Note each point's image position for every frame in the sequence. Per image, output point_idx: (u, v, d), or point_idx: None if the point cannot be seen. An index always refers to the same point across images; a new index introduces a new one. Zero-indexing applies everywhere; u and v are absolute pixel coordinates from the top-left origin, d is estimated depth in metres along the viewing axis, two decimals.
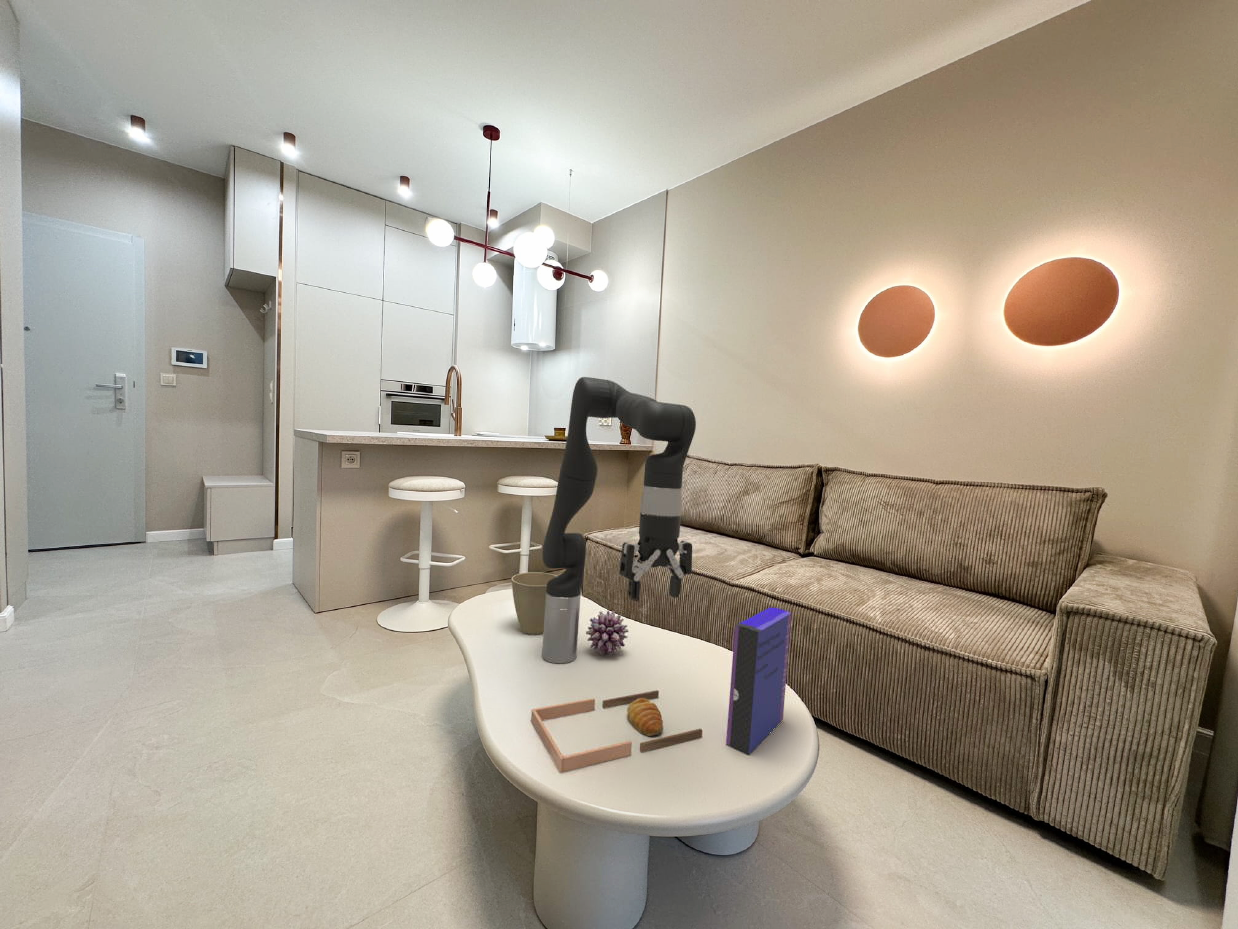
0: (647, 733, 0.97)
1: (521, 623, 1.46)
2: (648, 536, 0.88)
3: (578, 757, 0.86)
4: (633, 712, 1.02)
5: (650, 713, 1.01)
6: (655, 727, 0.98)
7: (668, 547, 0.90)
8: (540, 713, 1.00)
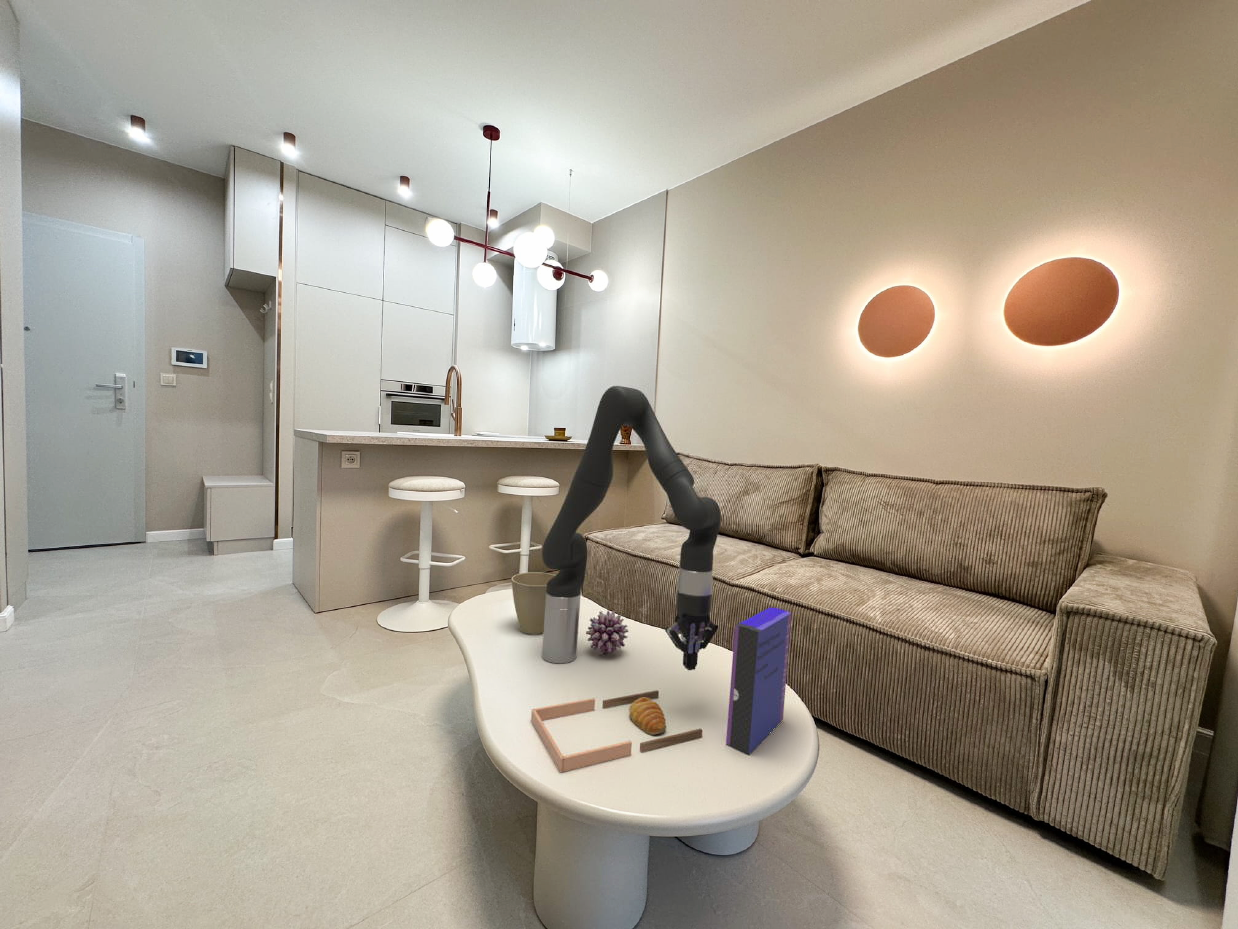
0: (651, 732, 0.98)
1: (521, 623, 1.46)
2: (685, 612, 1.03)
3: (578, 757, 0.86)
4: (635, 711, 1.02)
5: (653, 712, 1.01)
6: (659, 725, 0.98)
7: (701, 620, 1.06)
8: (540, 713, 1.00)
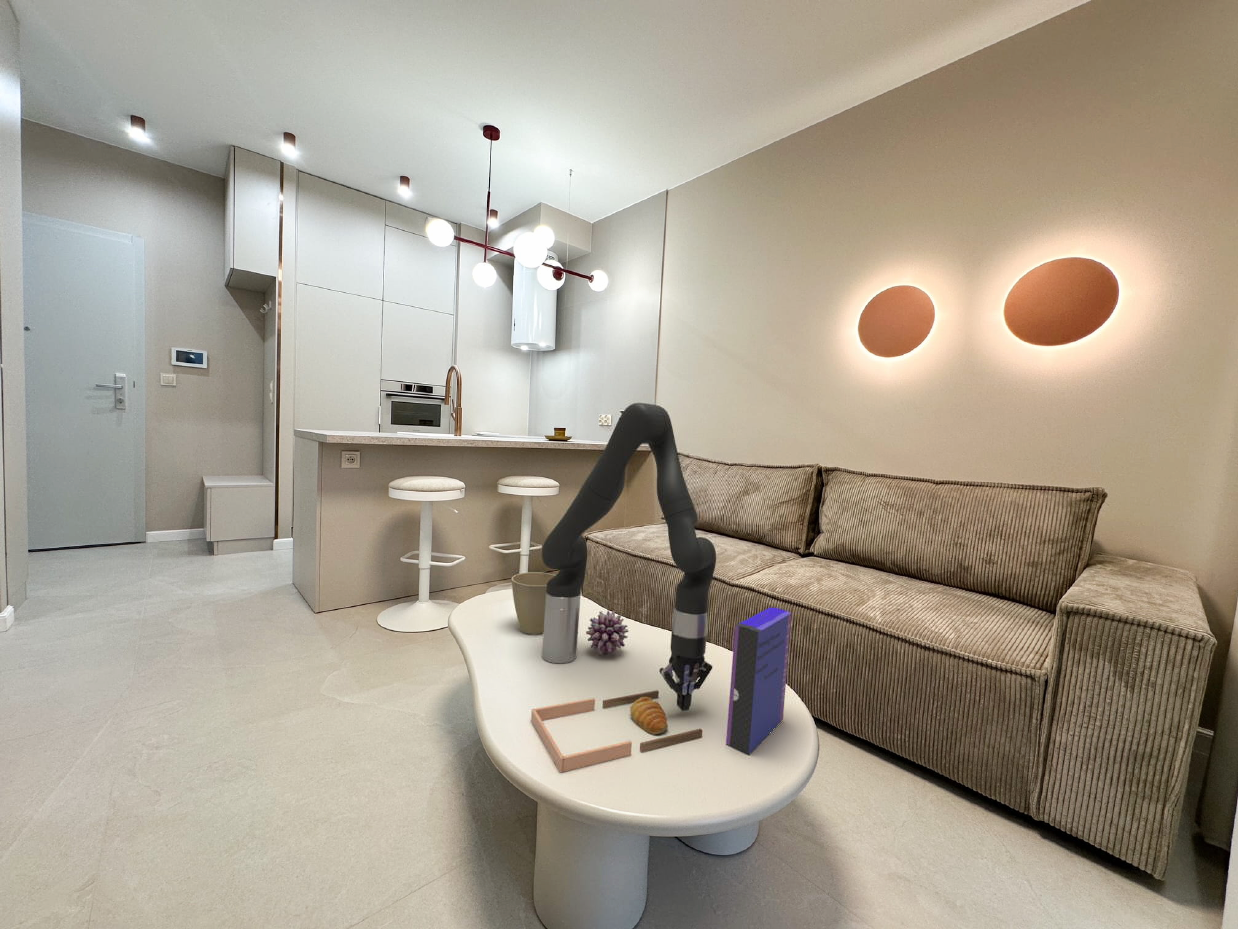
0: (652, 732, 0.98)
1: (521, 623, 1.46)
2: (679, 654, 1.03)
3: (578, 757, 0.86)
4: (636, 711, 1.02)
5: (654, 712, 1.01)
6: (660, 725, 0.99)
7: (695, 661, 1.06)
8: (540, 713, 1.00)
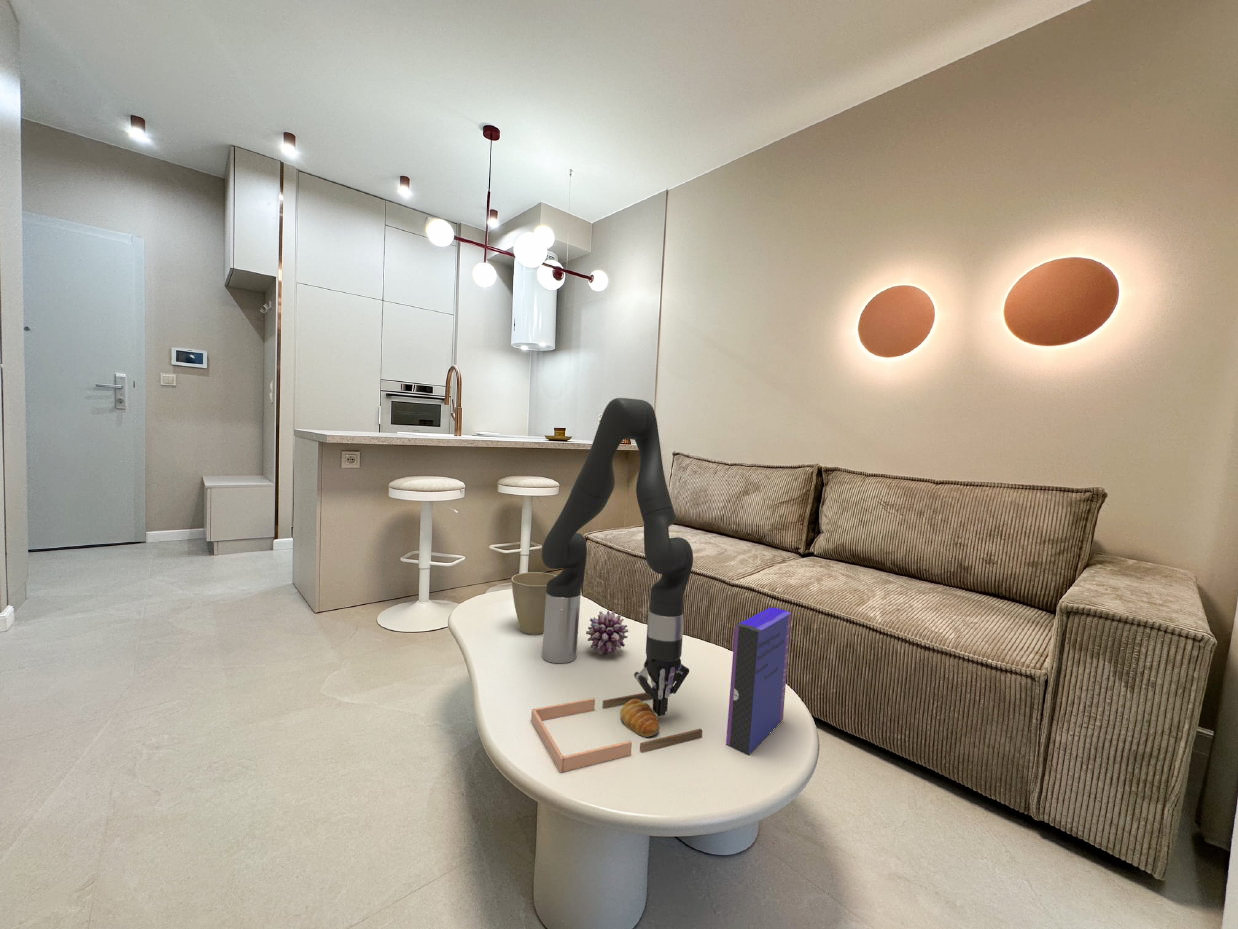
0: (645, 734, 0.97)
1: (521, 623, 1.46)
2: (654, 658, 1.00)
3: (578, 757, 0.86)
4: (627, 714, 1.01)
5: (646, 714, 1.00)
6: (653, 727, 0.98)
7: (671, 664, 1.03)
8: (540, 713, 1.00)
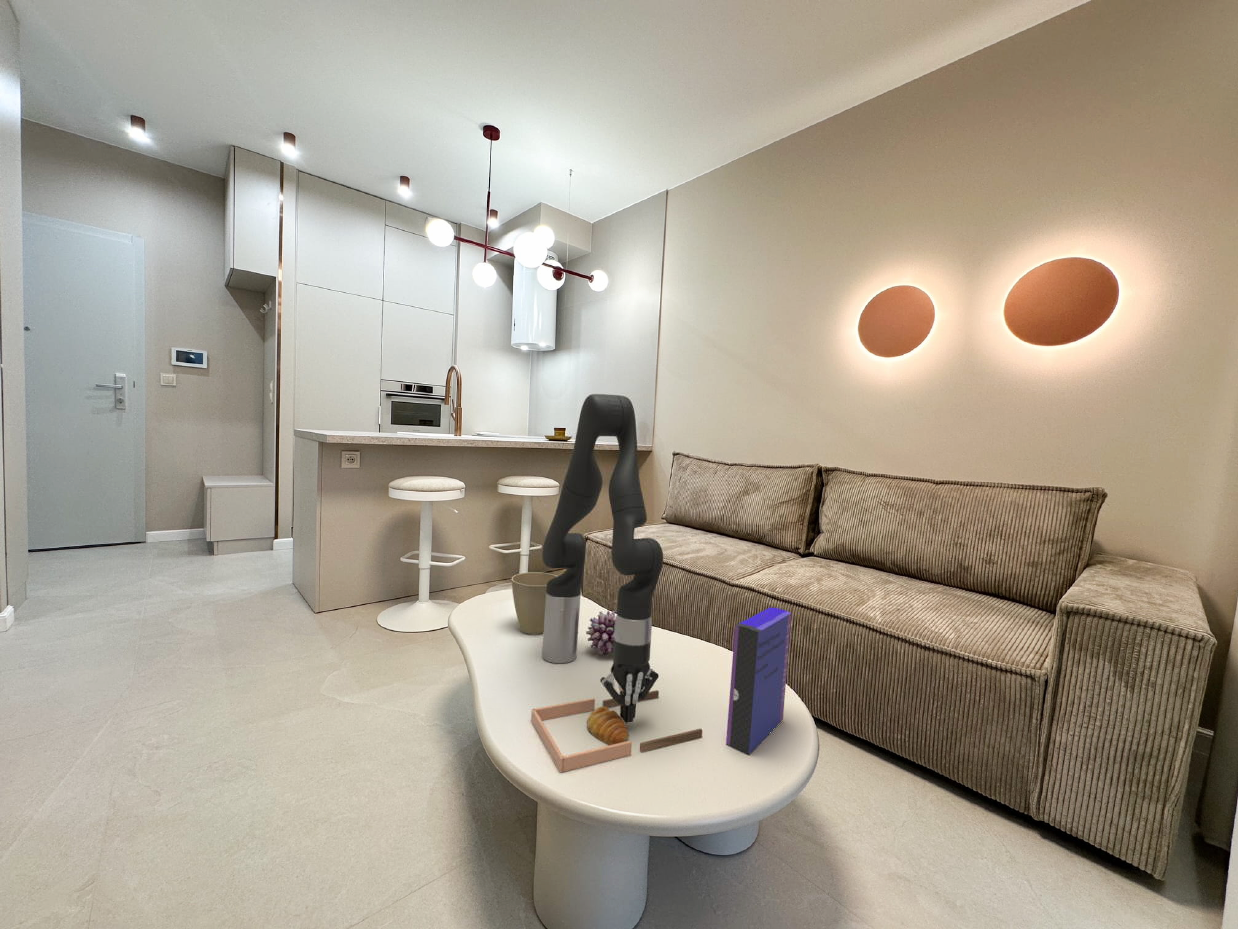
0: None
1: (521, 623, 1.46)
2: (621, 663, 0.97)
3: (578, 757, 0.86)
4: (595, 723, 0.97)
5: (614, 722, 0.96)
6: (622, 735, 0.94)
7: (639, 669, 1.00)
8: (540, 713, 1.00)
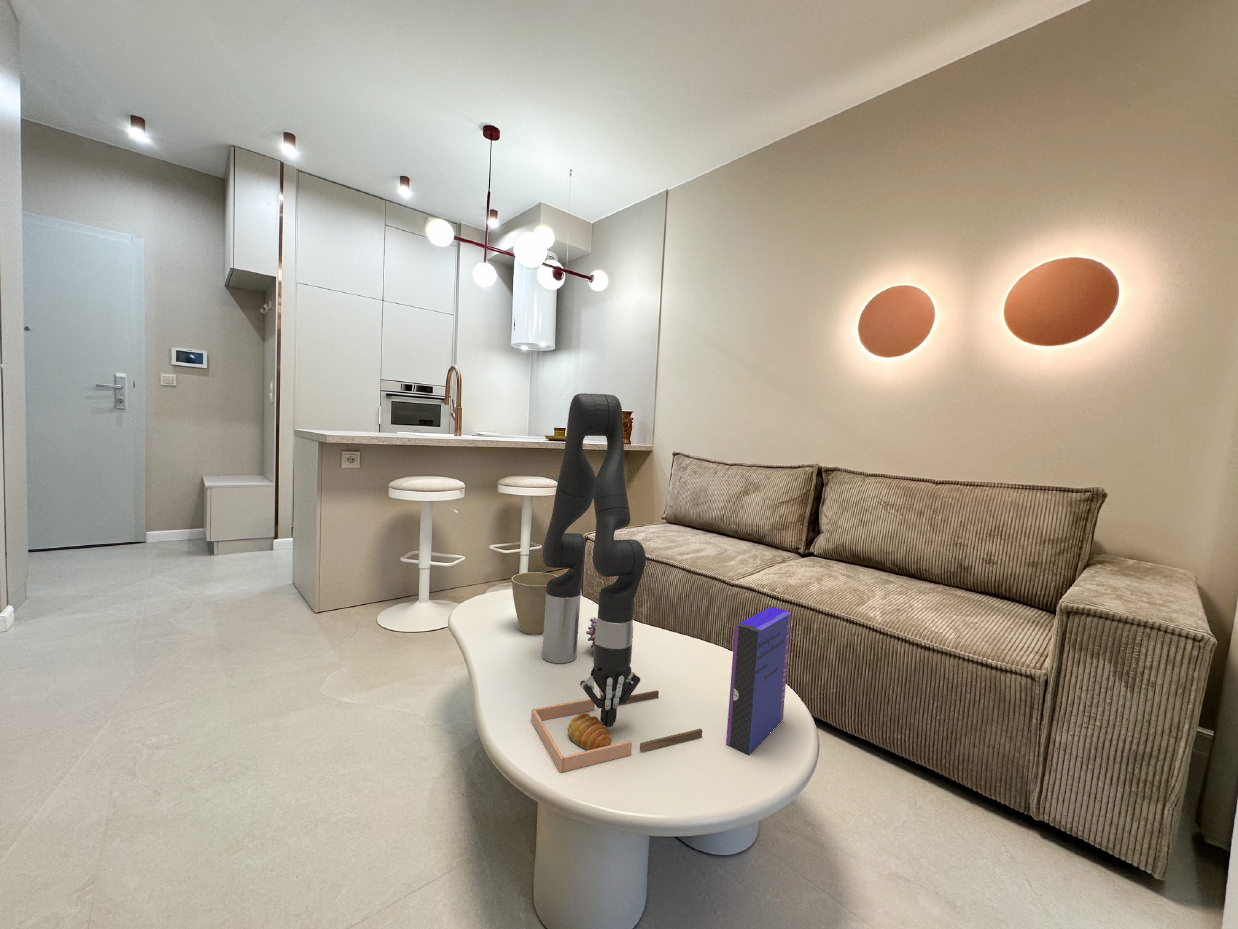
0: None
1: (521, 623, 1.46)
2: (600, 666, 0.95)
3: (578, 757, 0.86)
4: (576, 730, 0.94)
5: (596, 729, 0.94)
6: (605, 742, 0.92)
7: (620, 673, 0.98)
8: (540, 713, 1.00)
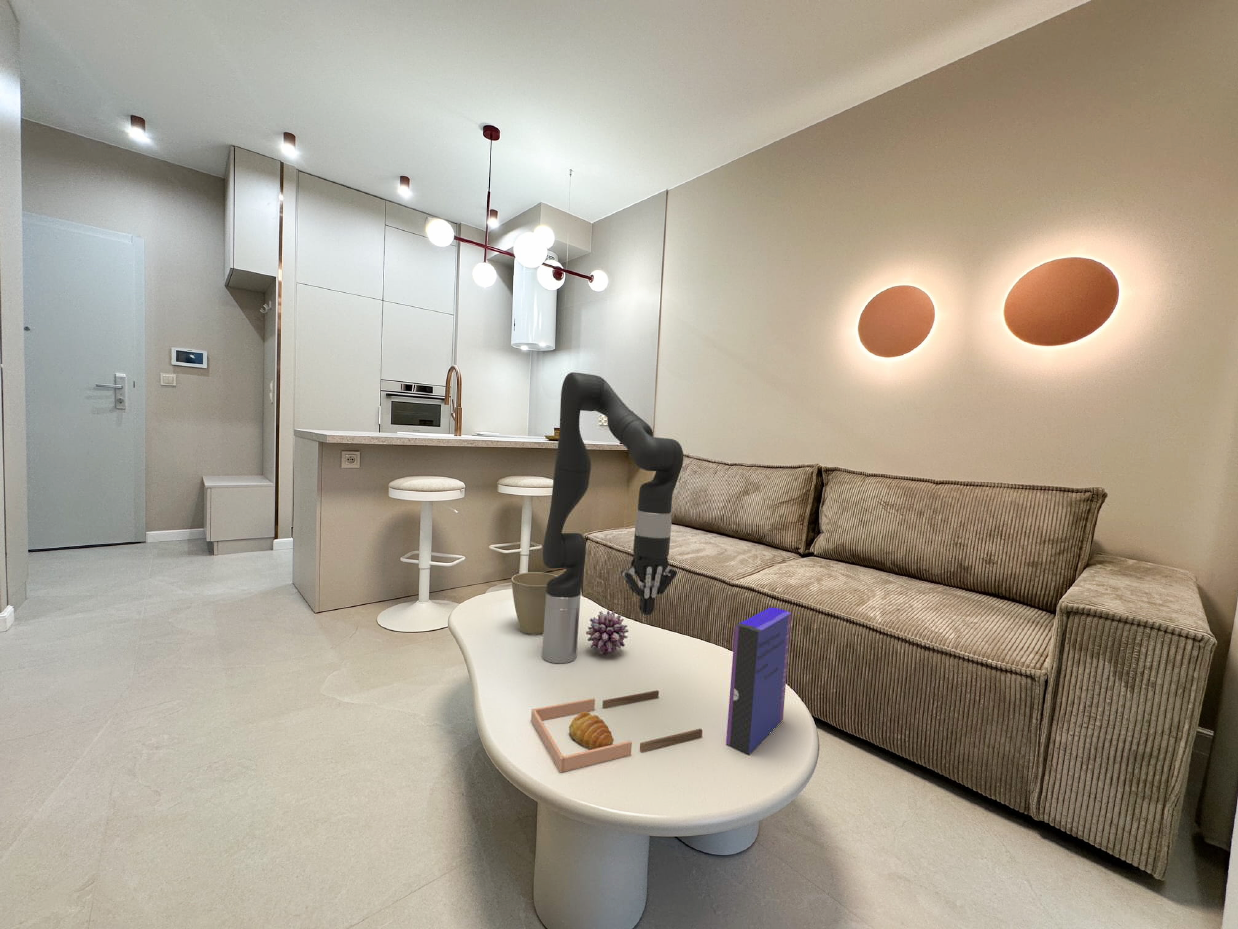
0: None
1: (521, 623, 1.46)
2: (641, 555, 1.00)
3: (578, 757, 0.86)
4: (578, 729, 0.94)
5: (598, 727, 0.94)
6: (608, 740, 0.92)
7: (659, 564, 1.03)
8: (540, 713, 1.00)
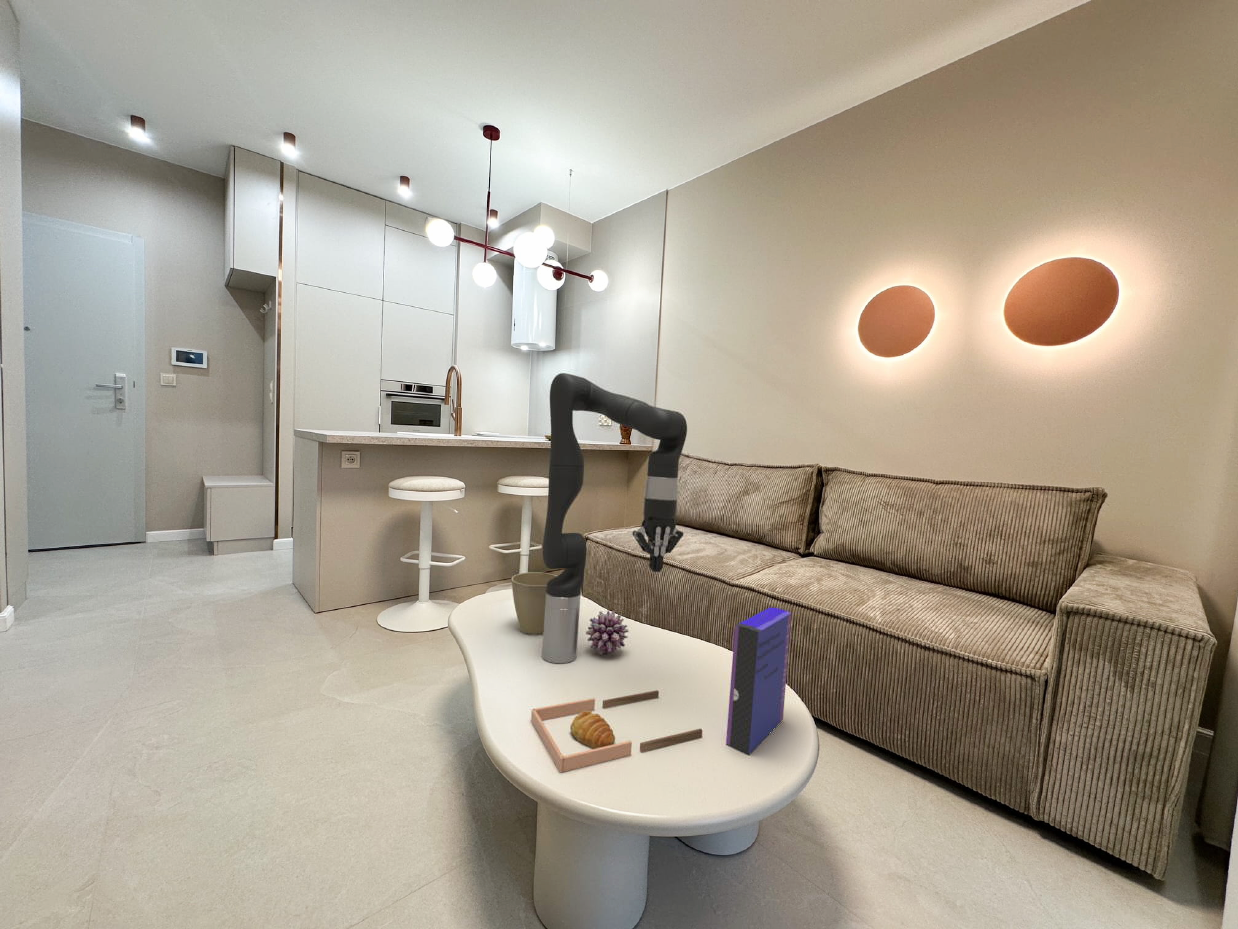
0: None
1: (521, 623, 1.46)
2: (651, 516, 1.10)
3: (578, 757, 0.86)
4: (580, 728, 0.95)
5: (600, 726, 0.95)
6: (609, 739, 0.93)
7: (667, 525, 1.13)
8: (540, 713, 1.00)
